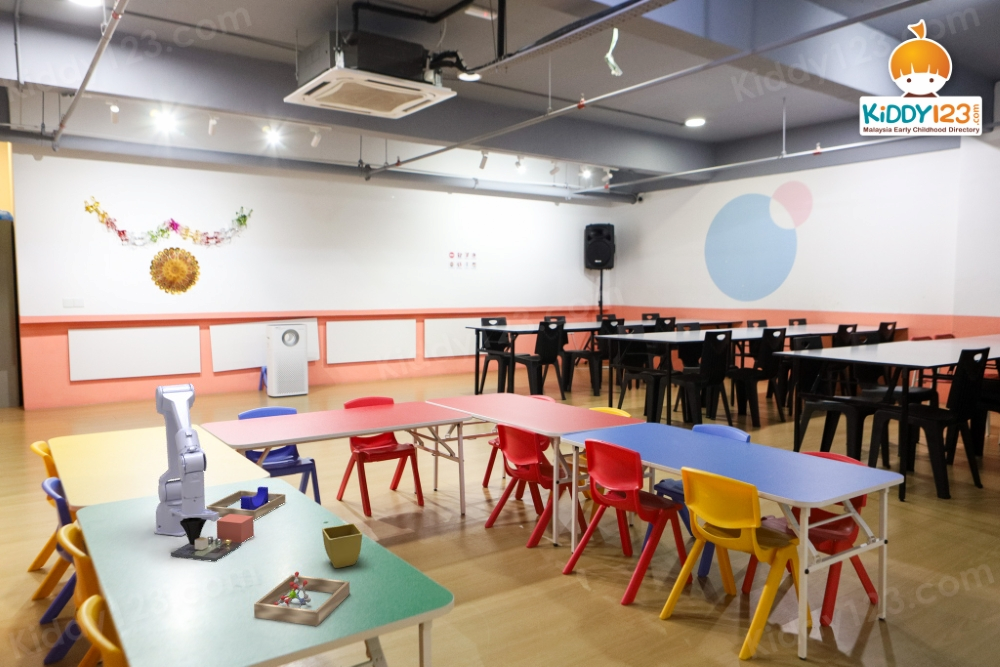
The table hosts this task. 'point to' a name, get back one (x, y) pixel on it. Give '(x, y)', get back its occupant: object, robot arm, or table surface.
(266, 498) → the blue curved cradle block
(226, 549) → the panel
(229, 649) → the table surface
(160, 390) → the robot arm
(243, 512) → the wooden frame left
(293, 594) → the molecular model
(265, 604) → the wooden frame right
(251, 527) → the cap
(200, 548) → the block
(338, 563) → the flower pot
